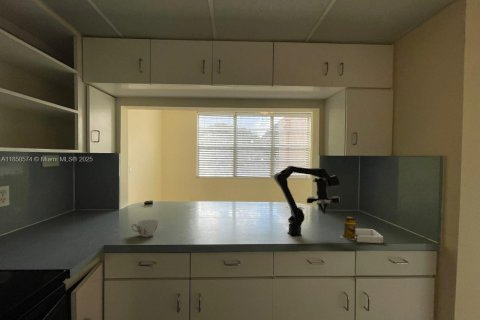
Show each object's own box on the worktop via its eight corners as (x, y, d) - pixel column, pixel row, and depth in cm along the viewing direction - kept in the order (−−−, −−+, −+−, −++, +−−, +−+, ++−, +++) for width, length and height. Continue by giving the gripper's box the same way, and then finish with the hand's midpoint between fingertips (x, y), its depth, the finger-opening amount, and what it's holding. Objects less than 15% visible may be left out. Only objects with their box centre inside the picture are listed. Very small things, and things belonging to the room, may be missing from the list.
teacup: (160, 232, 156) (160, 219, 155) (155, 239, 143) (155, 225, 143) (135, 232, 155) (135, 219, 154) (127, 239, 142) (127, 225, 142)
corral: (357, 241, 144) (357, 235, 144) (349, 233, 158) (350, 228, 158) (382, 243, 142) (383, 236, 142) (373, 235, 156) (373, 229, 156)
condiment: (354, 240, 146) (355, 219, 145) (339, 237, 150) (339, 217, 150) (356, 237, 152) (357, 217, 151) (341, 234, 156) (342, 214, 156)
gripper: (339, 185, 160) (341, 210, 160) (308, 186, 167) (311, 210, 168) (337, 188, 149) (340, 215, 150) (305, 190, 157) (308, 215, 158)
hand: (324, 213), depth 157 cm, fingers closed
